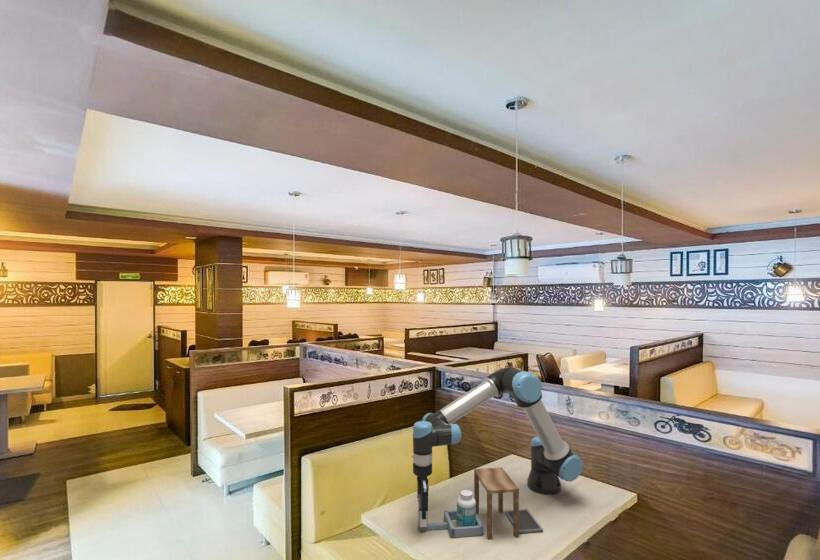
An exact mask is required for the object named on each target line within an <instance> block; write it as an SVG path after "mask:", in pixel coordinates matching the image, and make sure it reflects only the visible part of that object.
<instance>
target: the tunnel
mask: <svg viewBox="0 0 820 560" xmlns="http://www.w3.org/2000/svg"><path fill="white" fill-rule="evenodd" d="M473 471H474V472H473V477H474V478H473V482H474V483H473V485H474V486H473V487H474V488H473V496H474V497H473V498H474V499H475V501H476V514H477V516H478V515H480V483H481V485H482V488H484V490H485V492H486V538H487V540H493V494H497V511H498V513H499V514H503V513H504V494H508V493H509V494H510V493H513V494H512V496H513V497H512V500H513V501H512V502H513V503H512V504H513V505H512V507H513V509H512V510H513V525H512V526H513V528H512V529H513V530H512V531H513V534H512V536H513V537H514V538H519V537H520V534H519V510H520V489H519V487H518V486H517V485H516V484H515V482H514V481H513V479H511V477H510V475H508V474H507V472H506V471H505V470H504V469H503V467H486V468H474V469H473Z"/></svg>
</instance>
